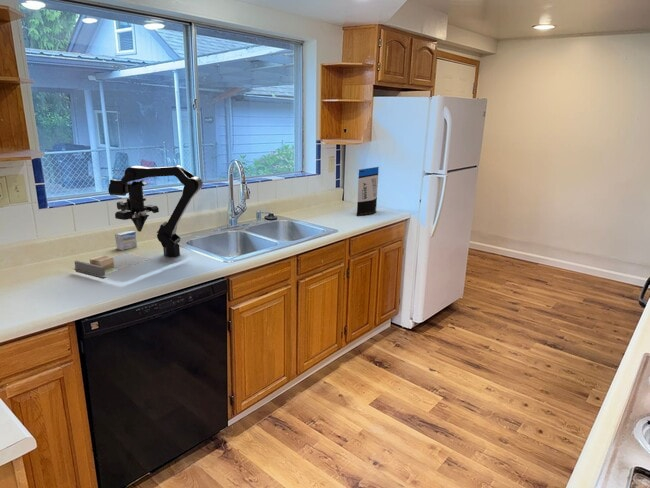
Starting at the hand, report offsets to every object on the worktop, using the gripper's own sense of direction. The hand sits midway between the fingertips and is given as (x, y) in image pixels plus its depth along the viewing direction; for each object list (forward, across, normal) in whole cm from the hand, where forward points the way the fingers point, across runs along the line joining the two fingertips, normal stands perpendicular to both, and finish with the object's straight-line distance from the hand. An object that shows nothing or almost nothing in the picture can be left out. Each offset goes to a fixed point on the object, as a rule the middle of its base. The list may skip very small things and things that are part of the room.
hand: (139, 231), depth 193 cm
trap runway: (+12, +14, 0) cm, 18 cm away
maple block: (+10, +20, 0) cm, 23 cm away
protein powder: (+12, -141, +52) cm, 151 cm away
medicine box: (+12, -4, -14) cm, 19 cm away
